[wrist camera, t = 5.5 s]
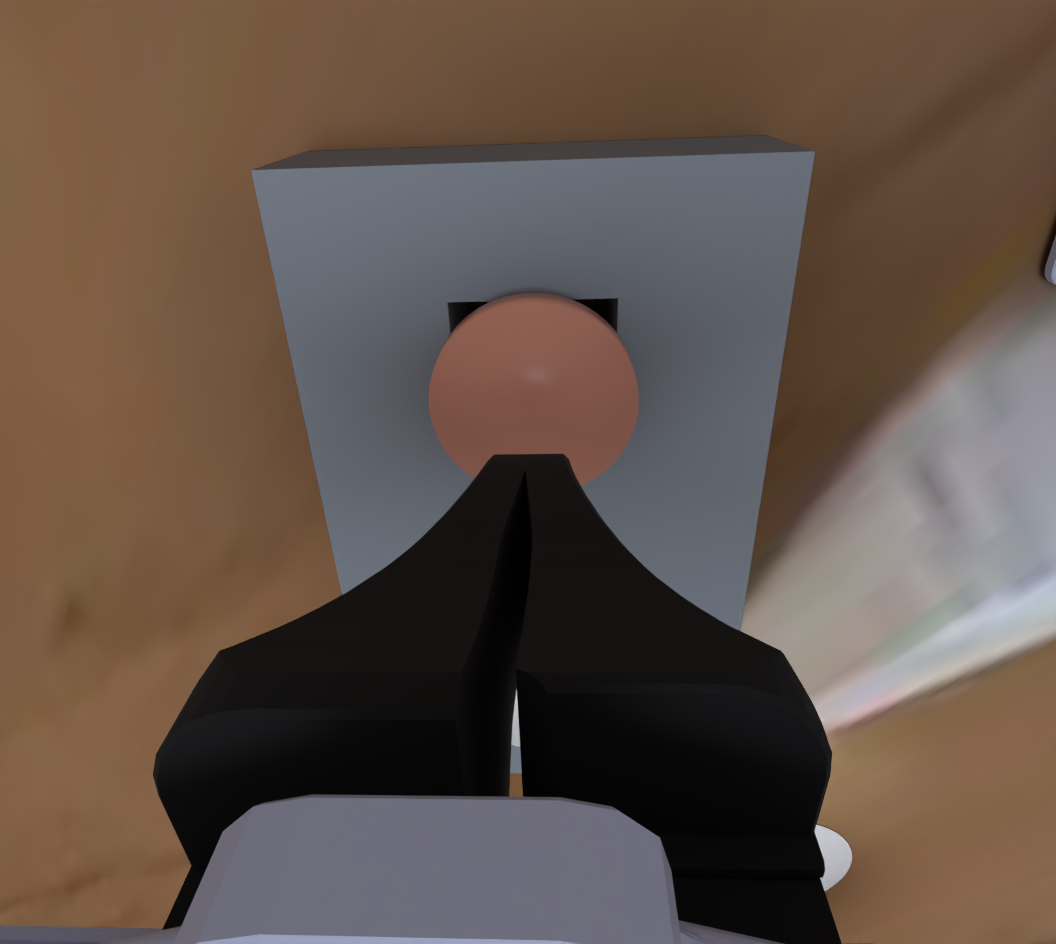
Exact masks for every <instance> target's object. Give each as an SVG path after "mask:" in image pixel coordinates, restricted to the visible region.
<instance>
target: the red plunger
mask: <svg viewBox="0 0 1056 944" xmlns="http://www.w3.org/2000/svg"><path fill="white" fill-rule="evenodd" d="M638 407H639V394H638V386H637V380H636V376H635V372H634V369H633V365H632V362H631V359H630V356H629V353H628V351H627V349H626V347H625V345H624V343H623V341H622V340H621V338H620V337H619V335H618V334H617V332H616V331H615V330H614V329H613V328H612V327H611V326H610V324H609V323H608V322H607V321H606V320H604V319H603V318H602V317H601V316H600V315H599V314H597V313H596V312H594V311H593V310H591V309H590V308H588V307H587V306H585V305H583V304H581V303H578V302H576V301H574V300H572V299H568V298H565V297H562V296H559V295H553V294H547V293H521V294H514V295H509V296H505V297H502V298H499V299H496V300H493V301H491V302H489V303H487V304H485V305H483V306H481V307H479V308H477V309H476V310H475V311H473V312H472V313H470V314H469V315H468V316H466V317H465V318H464V319H463V320H462V321H461V322H460V323H459V324H458V325H457V326H456V327H455V329H454V330H453V331H452V333H451V334H450V335H449V337H448V338H447V340H446V342H445V343H444V345H443V347H442V350H441V352H440V354H439V357H438V359H437V362H436V364H435V367H434V369H433V372H432V376H431V380H430V386H429V411H430V416H431V421H432V424H433V427H434V430H435V433H436V435H437V437H438V439H439V441H440V443H441V445H442V446H443V448H444V449H445V451H446V452H447V454H448V455H449V456H450V457H451V458H452V460H453V461H454V462H455V463H456V464H457V465H458V466H459V467H460V468H462V469H463V470H464V471H465V472H466V473H468V474H469V475H470V476H472V477H473V478H475V477H476V476H477V475H478V473H479V472H480V471H481V469H482V468H483V466H484V465H485V464H486V462H487V461H488V460H489V459H490V458H491V457H492V456H493V455H495V454H564V455H565V456H566V457H567V458H568V459H569V460H570V464H571V467H572V469H573V472H574V474H575V476H576V478H577V480H578V482H579V483H580V485H584V484H586V483H587V482H589V481H591V480H593V479H594V478H596V477H597V476H599V475H600V474H601V473H603V472H604V471H605V470H607V469H608V468H609V467H610V466H611V465H612V464H613V463H614V462H615V461H616V459H617V458H618V457H619V456H620V454H621V453H622V452H623V450H624V449H625V447H626V445H627V443H628V442H629V440H630V438H631V435H632V433H633V430H634V427H635V424H636V420H637V415H638Z"/></svg>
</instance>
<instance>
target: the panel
mask: <svg viewBox="0 0 1056 944" xmlns="http://www.w3.org/2000/svg"><path fill="white" fill-rule="evenodd" d="M814 155H815V151H813V150H810V149H806V148H803V147H800V146H797V145H794V144H791V143H788V142H785V141H781V140H778V139H775V138H772V137H769V136H766V135H759V136H730V137H701V138H672V139H643V140H614V141H586V142H557V143H528V144H499V145H470V146H441V147H412V148H383V149H354V150H325V151H306V152H303V153H300V154H297V155H294V156H292V157H289V158H286V159H283V160H280V161H277V162H274V163H271V164H268V165H265V166H262V167H259V168H256V169H253V170H251V172H252V177H253V181H254V186H255V191H256V196H257V200H258V205H259V210H260V214H261V219H262V224H263V228H264V233H265V238H266V242H267V247H268V252H269V256H270V261H271V266H272V270H273V275H274V280H275V284H276V289H277V294H278V298H279V303H280V308H281V312H282V317H283V322H284V326H285V331H286V336H287V340H288V345H289V350H290V354H291V359H292V364H293V368H294V373H295V378H296V382H297V387H298V392H299V396H300V401H301V406H302V410H303V415H304V420H305V424H306V429H307V434H308V438H309V443H310V448H311V452H312V457H313V462H314V466H315V471H316V476H317V480H318V485H319V490H320V494H321V499H322V504H323V508H324V513H325V518H326V522H327V527H328V532H329V536H330V541H331V546H332V550H333V555H334V560H335V564H336V569H337V574H338V578H339V583H340V588H341V592H342V595H343V594H345V593H347V592H348V591H350V590H351V589H353V588H354V587H356V586H357V585H359V584H360V583H362V582H363V581H365V580H367V579H368V578H370V577H371V576H373V575H374V574H376V573H377V572H379V571H380V570H382V569H383V568H385V567H386V566H388V565H389V564H390V563H392V562H393V561H394V560H395V559H397V558H398V557H399V556H400V555H402V554H403V553H404V552H406V551H407V550H408V549H409V548H410V547H412V546H413V545H414V544H415V543H416V542H417V541H418V540H419V539H420V538H421V537H422V536H423V535H424V534H425V533H426V532H427V531H428V530H429V529H430V528H431V527H432V526H433V525H434V524H435V523H436V522H437V521H438V520H439V519H440V518H441V517H442V516H443V515H444V514H445V513H446V512H447V511H448V510H449V509H450V507H451V506H452V505H453V504H454V503H455V502H456V501H457V499H458V498H459V497H460V496H461V495H462V494H463V492H464V491H465V490H466V489H467V487H468V486H469V485H470V484H471V482H472V481H473V480H474V479H475V478H473V477H472V476H470V475H469V474H468V473H466V472H465V471H464V470H463V469H462V468H460V467H459V466H458V465H457V464H456V463H455V462H454V461H453V460H452V458H451V457H450V456H449V455H448V454H447V452H446V451H445V449H444V448H443V446H442V445H441V443H440V441H439V439H438V437H437V435H436V433H435V430H434V427H433V424H432V421H431V416H430V411H429V386H430V380H431V376H432V372H433V369H434V367H435V364H436V362H437V359H438V357H439V354H440V352H441V350H442V347H443V345H444V343H445V342H446V340H447V338H448V337H449V335H450V334H451V333H452V331H453V330H454V329H455V327H456V326H457V325H458V324H459V323H460V322H461V321H462V320H463V319H464V318H465V317H466V316H468V315H469V314H470V308H469V302H486V301H493V300H496V299H499V298H502V297H505V296H509V295H514V294H521V293H547V294H553V295H559V296H562V297H565V298H568V299H606V321H607V322H608V323H609V324H610V326H611V327H612V328H613V329H614V330H615V331H616V332H617V334H618V335H619V337H620V338H621V340H622V341H623V343H624V345H625V347H626V349H627V351H628V353H629V356H630V359H631V362H632V365H633V369H634V372H635V376H636V380H637V386H638V394H639V407H638V415H637V420H636V424H635V427H634V430H633V433H632V435H631V438H630V440H629V442H628V443H627V445H626V447H625V449H624V450H623V452H622V453H621V454H620V456H619V457H618V458H617V459H616V461H615V462H614V463H613V464H612V465H611V466H610V467H609V468H608V469H607V470H605V471H604V472H603V473H601V474H600V475H599V476H597V477H596V478H594V479H593V480H591V481H589V482H587V483H586V484H584V485H581V487H582V489H583V491H584V492H585V494H586V496H587V497H588V499H589V500H590V502H591V503H592V505H593V506H594V508H595V509H596V511H597V512H598V513H599V515H600V516H601V518H602V519H603V520H604V522H605V523H606V524H607V526H608V527H609V528H610V529H611V531H612V532H613V533H614V534H615V535H616V537H617V538H618V539H619V540H620V541H621V542H622V544H623V545H624V546H625V547H626V548H627V549H628V550H629V551H630V552H631V553H632V554H633V556H634V557H636V558H637V559H638V560H639V561H640V562H641V563H642V564H643V565H644V566H645V567H646V568H647V569H648V570H649V571H650V572H651V573H652V574H654V575H655V576H656V577H657V578H658V579H660V580H661V581H662V582H664V583H665V584H666V585H668V586H669V587H670V588H671V589H673V590H674V591H675V592H677V593H678V594H679V595H681V596H682V597H684V598H685V599H687V600H688V601H689V602H691V603H692V604H694V605H695V606H697V607H699V608H700V609H702V610H703V611H705V612H707V613H708V614H710V615H712V616H713V617H715V618H717V619H718V620H720V621H722V622H723V623H725V624H727V625H729V626H731V627H733V628H735V629H737V630H739V631H740V630H741V623H742V617H743V611H744V604H745V598H746V591H747V585H748V579H749V572H750V566H751V559H752V553H753V546H754V540H755V534H756V527H757V521H758V514H759V508H760V502H761V495H762V489H763V482H764V476H765V469H766V463H767V457H768V450H769V444H770V437H771V431H772V425H773V418H774V412H775V405H776V399H777V393H778V386H779V380H780V373H781V367H782V360H783V354H784V348H785V341H786V335H787V328H788V322H789V316H790V309H791V303H792V296H793V290H794V284H795V277H796V271H797V264H798V258H799V251H800V245H801V239H802V232H803V226H804V219H805V213H806V207H807V200H808V194H809V187H810V181H811V174H812V168H813V162H814ZM510 773H522V768H521V752H520V747H517V746H514V745H511V764H510Z"/></svg>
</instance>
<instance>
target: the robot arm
mask: <svg viewBox="0 0 1056 944" xmlns="http://www.w3.org/2000/svg"><path fill="white" fill-rule="evenodd" d="M1044 274H1045V276H1046V279H1047V280H1048V281H1049V282H1050V283H1052V284H1054V285H1056V236H1055V239H1054V242H1053V245H1052V248H1051V251H1050V254H1049V257H1048V260H1047V263H1046V266H1045V273H1044ZM516 690H517V701H518V718H519V735H520V752H521V768H522V785H523V797H509V786H510V764H511V743H512V724H513V714H514V705H515V697H516ZM831 759H832V751H831V749H830V746H829V743H828V740H827V737H826V734H825V731H824V728H823V725H822V722H821V720H820V718H819V716H818V714H817V711H816V709H815V707H814V705H813V703H812V701H811V699H810V698H809V696H808V694H807V692H806V691H805V689H804V687H803V685H802V684H801V682H800V680H799V679H798V677H797V675H796V674H795V672H794V670H793V669H792V667H791V665H790V664H789V662H788V660H787V659H786V657H785V655H784V654H783V653H782V652H781V651H780V650H778V649H776V648H774V647H772V646H770V645H768V644H765V643H763V642H761V641H759V640H757V639H755V638H753V637H751V636H749V635H747V634H745V633H743V632H741V631H739V630H737V629H735V628H733V627H731V626H729V625H727V624H725V623H723V622H722V621H720V620H718V619H717V618H715V617H713V616H712V615H710V614H708V613H707V612H705V611H703V610H702V609H700V608H699V607H697V606H695V605H694V604H692V603H691V602H689V601H688V600H687V599H685V598H684V597H682V596H681V595H679V594H678V593H677V592H675V591H674V590H673V589H671V588H670V587H669V586H668V585H666V584H665V583H664V582H662V581H661V580H660V579H658V578H657V577H656V576H655V575H654V574H652V573H651V572H650V571H649V570H648V569H647V568H646V567H645V566H644V565H643V564H642V563H641V562H640V561H639V560H638V559H637V558H636V557H634V556H633V554H632V553H631V552H630V551H629V550H628V549H627V548H626V547H625V546H624V545H623V544H622V542H621V541H620V540H619V539H618V538H617V537H616V535H615V534H614V533H613V532H612V531H611V529H610V528H609V527H608V526H607V524H606V523H605V522H604V520H603V519H602V518H601V516H600V515H599V513H598V512H597V511H596V509H595V508H594V506H593V505H592V503H591V502H590V500H589V499H588V497H587V496H586V494H585V492H584V491H583V489H582V487H581V485H580V483H579V482H578V480H577V478H576V476H575V474H574V472H573V469H572V467H571V464H570V460H569V459H568V458H567V457H566V456H565V455H564V454H495V455H493V456H492V457H491V458H490V459H489V460H488V461H487V462H486V464H485V465H484V466H483V468H482V469H481V471H480V472H479V473H478V475H477V476H476V477H475V479H474V480H473V481H472V482H471V484H470V485H469V486H468V487H467V489H466V490H465V491H464V492H463V494H462V495H461V496H460V497H459V498H458V499H457V501H456V502H455V503H454V504H453V505H452V506H451V507H450V509H449V510H448V511H447V512H446V513H445V514H444V515H443V516H442V517H441V518H440V519H439V520H438V521H437V522H436V523H435V524H434V525H433V526H432V527H431V528H430V529H429V530H428V531H427V532H426V533H425V534H424V535H423V536H422V537H421V538H420V539H419V540H418V541H417V542H416V543H415V544H414V545H413V546H412V547H410V548H409V549H408V550H407V551H406V552H404V553H403V554H402V555H400V556H399V557H398V558H397V559H395V560H394V561H393V562H392V563H390V564H389V565H388V566H386V567H385V568H383V569H382V570H380V571H379V572H377V573H376V574H374V575H373V576H371V577H370V578H368V579H367V580H365V581H363V582H362V583H360V584H359V585H357V586H356V587H354V588H353V589H351V590H350V591H348V592H347V593H345V594H343V595H341V596H340V597H338V598H336V599H334V600H333V601H331V602H329V603H327V604H325V605H323V606H322V607H320V608H318V609H316V610H314V611H312V612H310V613H308V614H306V615H304V616H302V617H300V618H298V619H296V620H294V621H291V622H289V623H287V624H285V625H283V626H281V627H278V628H276V629H273V630H271V631H268V632H266V633H264V634H261V635H259V636H256V637H254V638H251V639H249V640H246V641H244V642H242V643H239V644H237V645H234V646H232V647H229V648H226V649H223V650H221V651H219V652H218V654H217V655H216V657H215V658H214V660H213V661H212V663H211V664H210V665H209V667H208V668H207V670H206V671H205V673H204V674H203V675H202V677H201V678H200V680H199V681H198V683H197V685H196V686H195V688H194V690H193V691H192V693H191V695H190V696H189V698H188V700H187V702H186V703H185V705H184V707H183V709H182V710H181V712H180V714H179V715H178V717H177V719H176V721H175V722H174V724H173V726H172V728H171V729H170V731H169V733H168V735H167V736H166V738H165V740H164V741H163V743H162V745H161V747H160V748H159V750H158V752H157V754H156V759H155V765H154V772H153V776H154V780H155V784H156V788H157V791H158V795H159V797H160V800H161V802H162V804H163V806H164V808H165V810H166V812H167V814H168V817H169V819H170V821H171V823H172V825H173V827H174V829H175V831H176V834H177V836H178V838H179V840H180V842H181V844H182V846H183V848H184V851H185V853H186V855H187V857H188V859H189V861H190V863H191V865H192V866H191V868H190V871H189V873H188V875H187V877H186V879H185V881H184V884H183V886H182V888H181V890H180V892H179V895H178V897H177V899H176V901H175V903H174V905H173V908H172V910H171V912H170V914H169V916H168V919H167V921H166V923H165V925H164V927H163V929H154V928H106V927H58V926H10V925H0V944H871V943H841V941H840V938H839V934H838V931H837V928H836V925H835V922H834V919H833V916H832V913H831V910H830V907H829V904H828V901H827V897H826V894H825V891H824V888H823V885H822V882H821V879H820V878H823V876H824V873H825V864H824V859H823V856H822V853H821V850H820V847H819V844H818V841H817V838H816V835H815V832H814V831H815V828H816V824H817V820H818V817H819V813H820V810H821V806H822V803H823V799H824V795H825V792H826V788H827V785H828V781H829V778H830V773H831Z"/></svg>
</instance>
